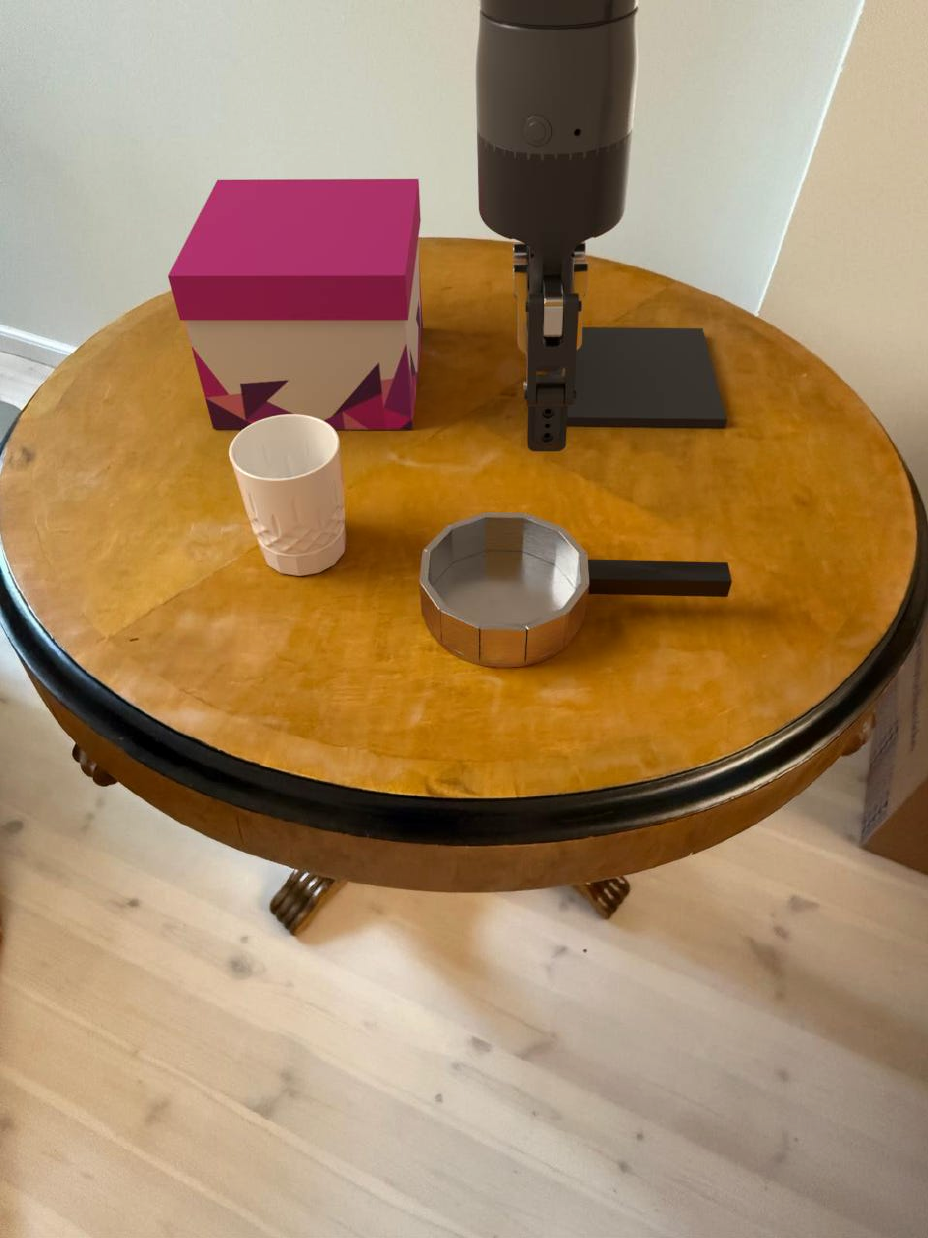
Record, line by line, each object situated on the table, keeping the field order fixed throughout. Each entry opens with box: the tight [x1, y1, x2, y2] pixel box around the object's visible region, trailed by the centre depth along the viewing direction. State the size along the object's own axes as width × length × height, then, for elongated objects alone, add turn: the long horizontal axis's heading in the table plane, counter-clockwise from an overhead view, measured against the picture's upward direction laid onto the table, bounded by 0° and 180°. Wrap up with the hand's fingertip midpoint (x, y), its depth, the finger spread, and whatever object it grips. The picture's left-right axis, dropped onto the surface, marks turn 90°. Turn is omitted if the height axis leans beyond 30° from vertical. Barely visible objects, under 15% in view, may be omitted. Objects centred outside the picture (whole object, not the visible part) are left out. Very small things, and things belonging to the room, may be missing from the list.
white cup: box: [228, 414, 347, 577], centre depth 68 cm, size 8×8×10 cm
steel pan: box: [418, 511, 733, 669], centre depth 65 cm, size 22×12×4 cm, turn 88°
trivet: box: [547, 326, 728, 429], centre depth 87 cm, size 16×16×1 cm
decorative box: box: [167, 178, 424, 431], centre depth 83 cm, size 19×19×15 cm
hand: (544, 405), depth 55 cm, fingers open, 8 cm apart
